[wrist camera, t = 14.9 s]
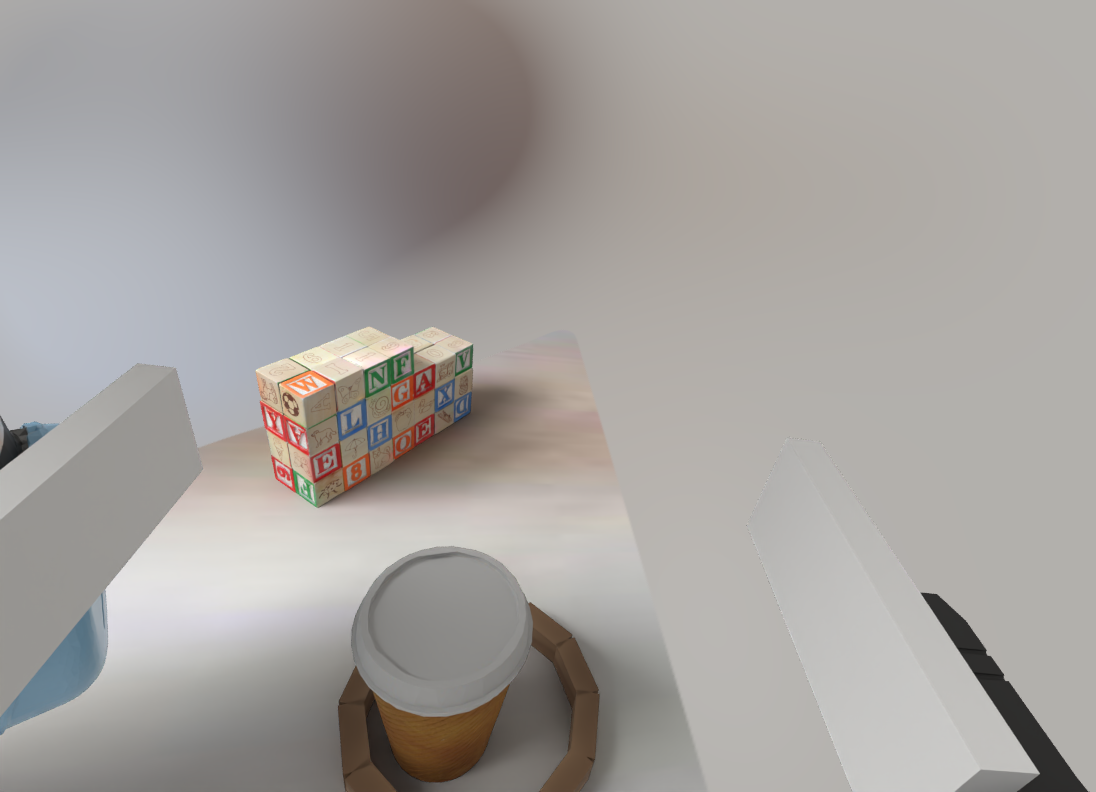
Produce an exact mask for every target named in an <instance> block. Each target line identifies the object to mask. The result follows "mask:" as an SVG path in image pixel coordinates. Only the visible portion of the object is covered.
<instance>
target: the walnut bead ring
mask: <svg viewBox="0 0 1096 792" xmlns="http://www.w3.org/2000/svg"><path fill="white" fill-rule="evenodd" d="M529 607H530V611H531V615H532V620H533V631H532V643H531V645H532V646H533V647H534V648H536V649H537V650H538V651H539V652H541V653H542V654H543V655H544V656H545V657H547V658H548V659H549V660H550V661H552V662H553V664H554V666H555V668H556V671H557V673H558V676H559V678H560V681H561V683H562V685H563V688H564V690H565V693H566V695H567V698H568V700H569V702H570V705H571V707H572V717H571V726H570V735H569V744H568V753H567V754H566V756H565V757H564V758H563V760H562V761H561V763H560V764H559V765H558V767H557V768H556V769H555V771H554V772H553V773H552V775H551V776H550V778H549V779H548V780H547V782H546V783H545V784H544V786H543V787H542V788H541V790H540V791H539V792H580V790H581V789H582V787H583V786H584V784H585V783H586V781H587V780H588V778H589V775H590V772H591V769H592V766H593V763H594V760H595V751H596V737H597V723H598V708H599V694H598V691H599V689H598V687H597V685H596V683H595V681H594V678H593V676H592V674H591V672H590V670H589V668H588V666H587V663H586V661H585V659H584V657H583V655H582V653H581V650H580V648H579V646H578V644H577V642H576V640H575V638H572V634H571V633H569V632H568V631H567V630H566V629H564V628H563V627H562V626H560V625H559V624H558V623H557V622H555V621H554V620H553V619H551V618H550V617H549V616H547V615H546V614H545V613H544V612H542V611H541V610H540V609H538V608H537V607H536V606H535V605H533V604H532V603H531V602H530V603H529ZM374 699H375V697H374V694H373V691H372V690H371V689H370V688H369V687H368V685H367V684H366V682H365V681H364V680H363V678H362V677H361V675H360V673H359V671H358V668H357V666H355V668H354V671H353V673H352V675H351V677H350V679H349V681H348V683H347V685H346V687H345V689H344V691H343V694H342V696H341V698H340V700H339V706H338V714H339V727H340V740H341V754H342V767H343V777H344V784H345V790H346V791H347V792H397V791H396V790H395V789H394V787H393V786H392V785H391V784H390V783H389V782H388V780H387V779H386V778H385V777H384V776H383V775H382V773H381V772H380V771H379V770H378V769H377V768H376V766H375V765H374V764H373V763H372V762H371V759H370V751H369V742H368V733H367V724H366V718H367V715H368V713H369V711H370V708H371V706H372V704H373V701H374Z"/></svg>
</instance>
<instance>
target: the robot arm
mask: <svg viewBox="0 0 1096 792" xmlns="http://www.w3.org/2000/svg"><path fill="white" fill-rule="evenodd" d="M202 470H203V466H202V463H201V459H200V455H199V452H198V448H197V444H196V441H195V437H194V433H193V430H192V426H191V422H190V418H189V415H188V411H187V407H186V404H185V400H184V396H183V393H182V389H181V385H180V381H179V378H178V374H177V371H176V368H173V367H164V366H155V365H146V364H136V365H135V366H134V367H132V368H131V369H130V370H129V371H127V372H126V373H125V374H123V375H122V376H121V377H120V378H118V379H117V380H116V381H114V382H113V383H112V384H111V385H109V386H108V387H107V388H105V389H104V390H103V391H101V392H100V393H99V394H97V395H96V396H95V397H94V398H93V399H91V400H90V401H88V402H87V403H86V404H85V405H83V406H82V407H81V408H79V409H78V410H77V411H76V412H74V413H73V414H72V415H70V416H69V417H68V418H67V419H65V420H64V421H63V422H62V423H60V424H40V423H38V422H31V423H26V424H25V423H24V424H23V425H22V426H21V427H20V429H16V430H10V431H9V430H8V428H7V426H6V425H5V423H4V421H3V419H2V418H1V416H0V735H2V734H3V732H4V731H5V730H6V729H7V728H10V727H12V726H14V725H16V724H19V723H21V722H23V721H26V720H28V719H30V718H33V717H35V716H37V715H40V714H42V713H44V712H46V711H49V710H51V709H53V708H56V707H58V706H60V705H63V704H65V703H67V702H69V701H71V700H73V699H75V698H76V697H78V696H79V695H81V694H82V693H83V692H84V691H85V690H87V689H88V688H89V687H90V686H91V684H92V683H93V682H94V681H95V680H96V679H97V677H98V676H99V674H100V672H101V671H102V668H103V666H104V663H105V659H106V654H107V647H108V624H107V605H106V591H105V589H106V587H107V586H108V585H109V584H110V582H111V581H112V580H113V579H114V578H115V576H116V575H117V574H118V573H119V571H120V570H121V569H122V568H123V567H124V565H125V564H126V563H127V562H128V560H129V559H130V558H131V557H132V556H133V554H134V553H135V552H136V551H137V549H138V548H139V547H140V546H141V545H142V543H143V542H144V541H145V540H146V538H147V537H148V536H149V535H150V534H151V532H152V531H153V530H154V529H155V527H156V526H157V525H158V524H159V523H160V521H161V520H162V519H163V518H164V516H165V515H166V514H167V513H168V512H169V510H170V509H171V508H172V507H173V505H174V504H175V503H176V502H177V501H178V499H179V498H180V497H181V496H182V495H183V493H184V492H185V491H186V490H187V488H188V487H189V486H190V485H191V484H192V482H193V481H194V480H195V479H196V477H197V476H198V475H199V474H200V473H201V471H202ZM747 527H748V530H749V532H750V535H751V537H752V540H753V542H754V545H755V547H756V550H757V552H758V555H759V558H760V560H761V563H762V565H763V568H764V570H765V573H766V575H767V578H768V580H769V583H770V585H771V588H772V590H773V593H774V596H775V598H776V601H777V603H778V606H779V608H780V611H781V613H782V616H783V618H784V621H785V623H786V626H787V628H788V631H789V633H790V635H791V638H792V641H793V644H794V646H795V649H796V651H797V654H798V656H799V659H800V661H801V664H802V666H803V669H804V671H805V674H806V676H807V679H808V681H809V684H810V686H811V689H812V692H813V694H814V696H815V699H816V702H817V704H818V707H819V709H820V712H821V714H822V717H823V719H824V722H825V724H826V727H827V729H828V732H829V734H830V737H831V739H832V742H833V745H834V747H835V750H836V752H837V754H838V757H839V760H840V762H841V765H842V767H843V770H844V772H845V775H846V777H847V780H848V782H849V785H850V788H851V790H852V792H1088V791H1087V790H1086V788H1085V787H1084V786H1083V785H1082V783H1081V782H1080V781H1079V780H1078V779H1077V777H1076V776H1075V774H1074V773H1073V772H1072V770H1071V769H1070V767H1069V766H1068V765H1067V763H1066V762H1065V760H1064V759H1063V758H1062V756H1061V755H1060V753H1059V752H1058V750H1057V749H1056V747H1055V746H1054V745H1053V743H1052V742H1051V740H1050V739H1049V738H1048V736H1047V735H1046V733H1045V732H1044V731H1043V729H1042V728H1041V727H1040V725H1039V723H1038V722H1037V721H1036V719H1035V718H1034V716H1033V715H1032V714H1031V712H1030V711H1029V709H1028V708H1027V707H1026V705H1025V704H1024V702H1023V701H1022V699H1021V698H1020V697H1019V695H1018V694H1017V692H1016V691H1015V690H1014V688H1013V687H1012V685H1011V684H1010V683H1009V681H1005V680H1004V674H1003V673H1002V671H1001V670H1000V668H999V667H998V666H997V664H996V663H995V661H994V660H993V659H992V657H991V656H987V654H986V649H985V648H984V646H983V644H982V643H981V642H980V640H979V639H978V637H977V636H976V635H975V633H974V632H973V630H972V629H971V627H970V626H969V625H968V623H967V622H966V620H964V619H963V618H962V617H961V616H960V615H959V614H958V613H957V612H956V611H955V610H954V609H952V608H951V607H950V606H949V605H948V604H947V603H946V602H945V601H944V600H943V599H941V598H940V597H939V596H938V595H937V594H929V593H920V592H919V590H918V589H917V587H916V586H915V584H914V583H913V581H912V580H911V578H910V577H909V575H908V574H907V572H906V571H905V569H904V568H903V566H902V564H901V563H900V561H899V560H898V558H897V557H896V555H895V554H894V552H893V551H892V549H891V548H890V547H889V545H888V543H887V542H886V540H885V539H884V537H883V536H882V534H881V533H880V531H879V530H878V528H877V527H876V525H875V524H874V522H873V521H872V519H871V518H870V516H869V515H868V513H867V512H866V510H865V509H864V507H863V505H862V504H861V503H860V501H859V499H858V498H857V496H856V495H855V493H854V492H853V491H852V489H851V487H850V486H849V484H848V483H847V481H846V480H845V478H844V477H843V475H842V474H841V472H840V471H839V469H838V468H837V466H836V465H835V463H834V462H833V460H832V459H831V457H830V456H829V454H828V453H827V451H826V450H825V448H824V447H823V445H822V443H821V442H820V441H813V440H804V439H796V438H786V441H785V443H784V445H783V447H782V449H781V451H780V454H779V456H778V458H777V460H776V462H775V465H774V467H773V469H772V471H771V473H770V475H769V478H768V480H767V482H766V484H765V486H764V489H763V491H762V493H761V495H760V497H759V499H758V502H757V504H756V506H755V508H754V510H753V513H752V515H751V517H750V519H749V521H748V524H747Z"/></svg>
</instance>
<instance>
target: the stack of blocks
mask: <svg viewBox="0 0 1096 792" xmlns="http://www.w3.org/2000/svg"><path fill="white" fill-rule="evenodd" d="M472 360H473V344H472V343H469V342H467V341H465V340H463V339H460V338H458V337H456V336H454V335H450V334H448V333H446V332H444V331H441V330H439V329H437V328H434V327H430V328H428V329H426V330H424V331H422V332H419V333H417V334H415V335H411V336H409V337H406V338H404V339H402V340H398V339H396V338H394V337H390V336H388V335H386V334H384V333H382V332H380V331H378V330H376V329H374V328H371V327H367V328H364V329H361V330H359V331H356V332H354V333H351V334H348V335H346V336H344V337H341V338H338V339H336V340H333V341H331V342H328V343H325V344H323V345H321V346H319V347H316V348H313V349H310V350H308V351H305V352H302V353H300V354H297V355H295V356H292V357H290V358H289V359H288V358H286V359H283V360H280V361H277V362H275V363H272V364H270V365H267V366H264V367H261V368H259V369H257V370H256V376H257V381H258V386H259V391H260V395H261V399H262V400H261V401H260V404H261V410H262V415H263V421H264V425H265V428H266V432H267V436H268V441H269V445H270V450H271V454H272V455H271V456H272V462H273V467H274V473H275V478H276V479H277V480H278V481H280V482H281V483H282V484H284V485H285V486H287V487H288V488H290V489H291V490H292V491H294V492H296V493H297V494H299V495H300V496H302V497H303V498H304V499H306V500H307V501H308V502H310V503H311V504H313V505H314V506H315V507H317V508H318V507H320V506H321V505H323V504H325V503H326V502H328V501H329V500H331V499H333V498H334V497H336V496H338V495H339V494H341V493H343V492H344V491H347V490H349V489H350V488H352V487H353V486H355V485H357V484H358V483H360V482H361V481H363V480H365V479H366V478H368V477H369V476H371V475H373V474H374V473H376V472H378V471H379V470H381V469H383V468H384V467H386V466H387V465H389V464H391V463H392V462H393V461H394V460H395V459H397V458H398V457H400V456H401V455H403V454H405V453H406V452H408V451H409V450H411V449H413V448H414V447H415V446H417V445H418V444H420V443H422V442H423V441H425V440H426V439H428V438H430V437H431V436H433V435H434V434H437V433H439V432H440V431H442V430H443V429H445V428H446V427H448V426H450V425H451V424H453V423H454V422H456V421H458V420H459V419H461V418H462V417H464V416H465V415H467V414H469V413H470V411H471V395H472V392H471V390H472V380H473V368H472V362H473V361H472Z"/></svg>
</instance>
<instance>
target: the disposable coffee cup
mask: <svg viewBox="0 0 1096 792" xmlns="http://www.w3.org/2000/svg"><path fill="white" fill-rule="evenodd" d="M532 631H533V620H532V615H531V611H530V607H529V604H528V602H527V600H526V597H525V595H524V593H523V592H522V590H521V588H520V586H519V584H518V582H517V580H516V578H515V577H514V576H513V575H512V574H511V573H510V572H509V570H508V569H507V568H506V567H505V566H504V565H503V564H502V563H500V562H499V561H497V560H495V559H494V558H492V557H490V556H489V555H487V554H484V553H482V552H479V551H476V550H472V549H466V548H460V547H454V546H449V547H434V548H429V549H424V550H421V551H418V552H415V553H412V554H409V555H407V556H405V557H403V558H401V559H400V560H398V561H397V562H395V563H394V564H392V565H391V566H389V567H388V568H386V569H385V571H384V572H383V573H382V574H381V575H380V576H379V577H378V578H377V579H376V580H375V581H374V583H373V584H372V586H371V587H370V589H369V591H368V592H367V594H366V596H365V598H364V599H363V601H362V603H361V605H360V607H359V609H358V611H357V613H356V615H355V619H354V623H353V627H352V640H351V646H352V651H353V657H354V661H355V664H356V666H357V668H358V671H359V673H360V675H361V677H362V678H363V680H364V681H365V682H366V684H367V685H368V687H369V688H370V689H371V690H372V691H373V694H374V697H375V700H376V702H377V707H378V709H379V712H380V714H381V718H382V721H383V724H384V727H385V729H386V733H387V736H388V739H389V742H390V744H391V748H392V752H393V754H394V757H395V759H396V761H397V762H398V764H399V765H400V766H401V768H402V769H403V770H404V771H405V772H407V773H408V774H409V775H410V776H413V777H415V778H417V779H419V780H421V781H425V782H445V781H449V780H453V779H455V778H457V777H460V776H461V775H463V774H464V773H466V772H467V771H469V770H470V769H471V768H472V767H473V766H474V765H475V764H476V763H477V762H478V760H479V759H480V757H481V756H482V754H483V753H484V751H485V748H486V746H487V744H488V740H489V738H490V735H491V732H492V730H493V727H494V724H495V722H496V719H497V717H498V714H499V712H500V709H501V706H502V703H503V701H504V698H505V696H506V693H507V690H508V687H509V685H510V683H511V682H512V681H513V680H514V679H515V678H516V676H517V674H518V673H519V671H520V670H521V668H522V666H523V665H524V663H525V661H526V658H527V656H528V653H529V650H530V647H531V643H532Z"/></svg>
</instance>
